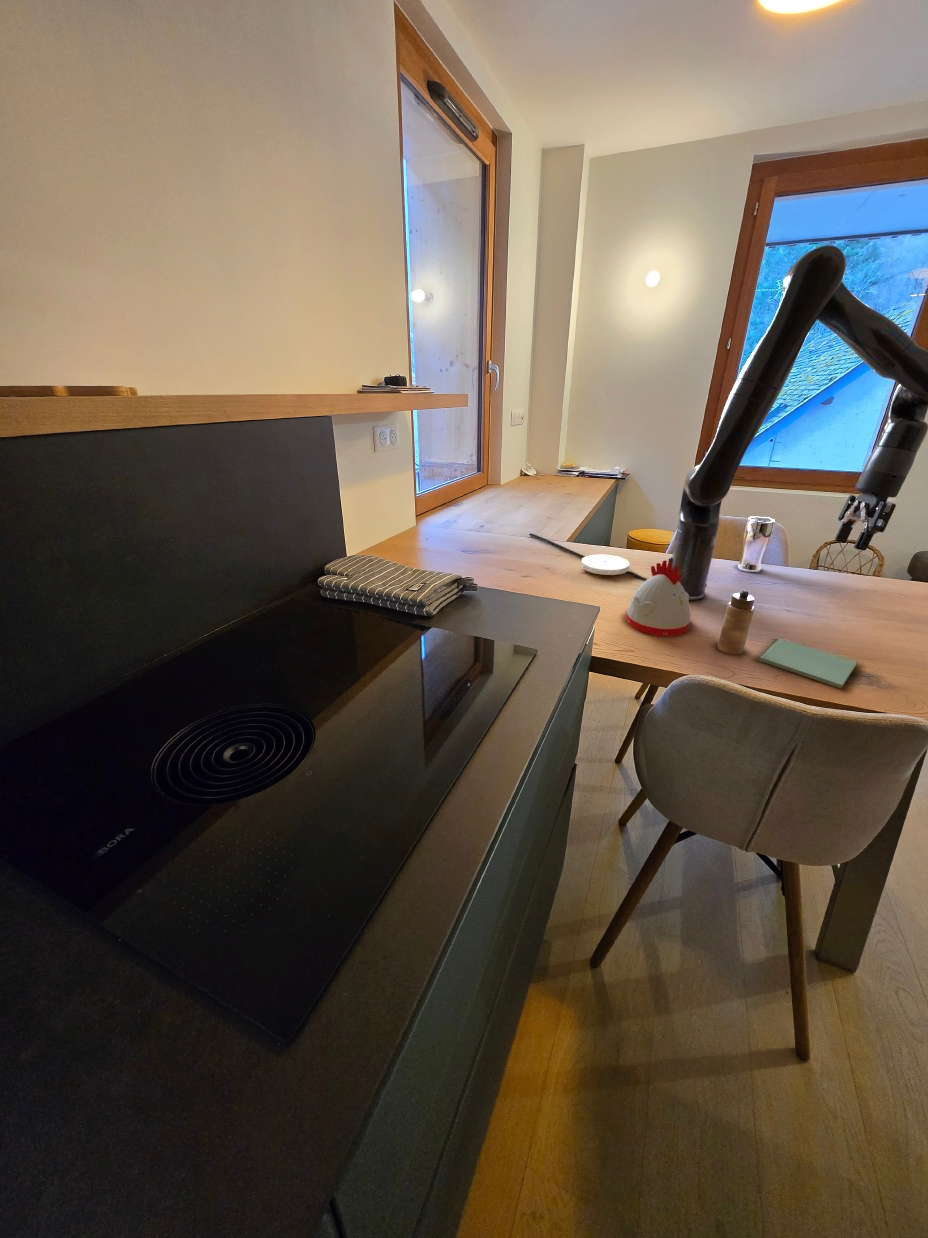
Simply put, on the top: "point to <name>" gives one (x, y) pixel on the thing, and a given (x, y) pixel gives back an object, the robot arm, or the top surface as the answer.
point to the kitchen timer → (660, 603)
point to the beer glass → (755, 543)
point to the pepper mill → (736, 623)
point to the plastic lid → (605, 564)
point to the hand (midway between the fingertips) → (849, 545)
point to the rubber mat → (809, 662)
